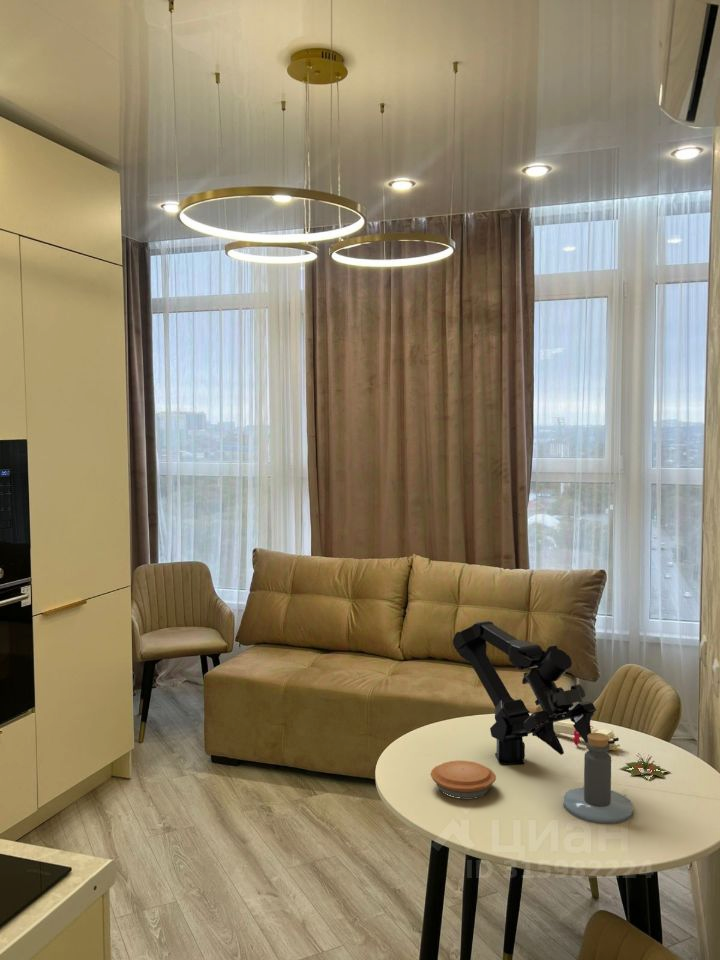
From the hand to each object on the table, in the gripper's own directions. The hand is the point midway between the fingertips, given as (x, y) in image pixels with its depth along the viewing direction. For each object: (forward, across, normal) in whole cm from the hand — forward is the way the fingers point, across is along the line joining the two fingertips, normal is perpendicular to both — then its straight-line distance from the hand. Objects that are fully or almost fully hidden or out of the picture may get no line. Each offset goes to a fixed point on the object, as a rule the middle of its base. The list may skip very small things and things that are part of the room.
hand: (577, 750), depth 186 cm
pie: (-3, -21, +20) cm, 29 cm away
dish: (+12, 0, +3) cm, 13 cm away
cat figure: (-11, +25, +27) cm, 38 cm away
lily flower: (+6, +26, +10) cm, 28 cm away
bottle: (+12, 0, +2) cm, 12 cm away
